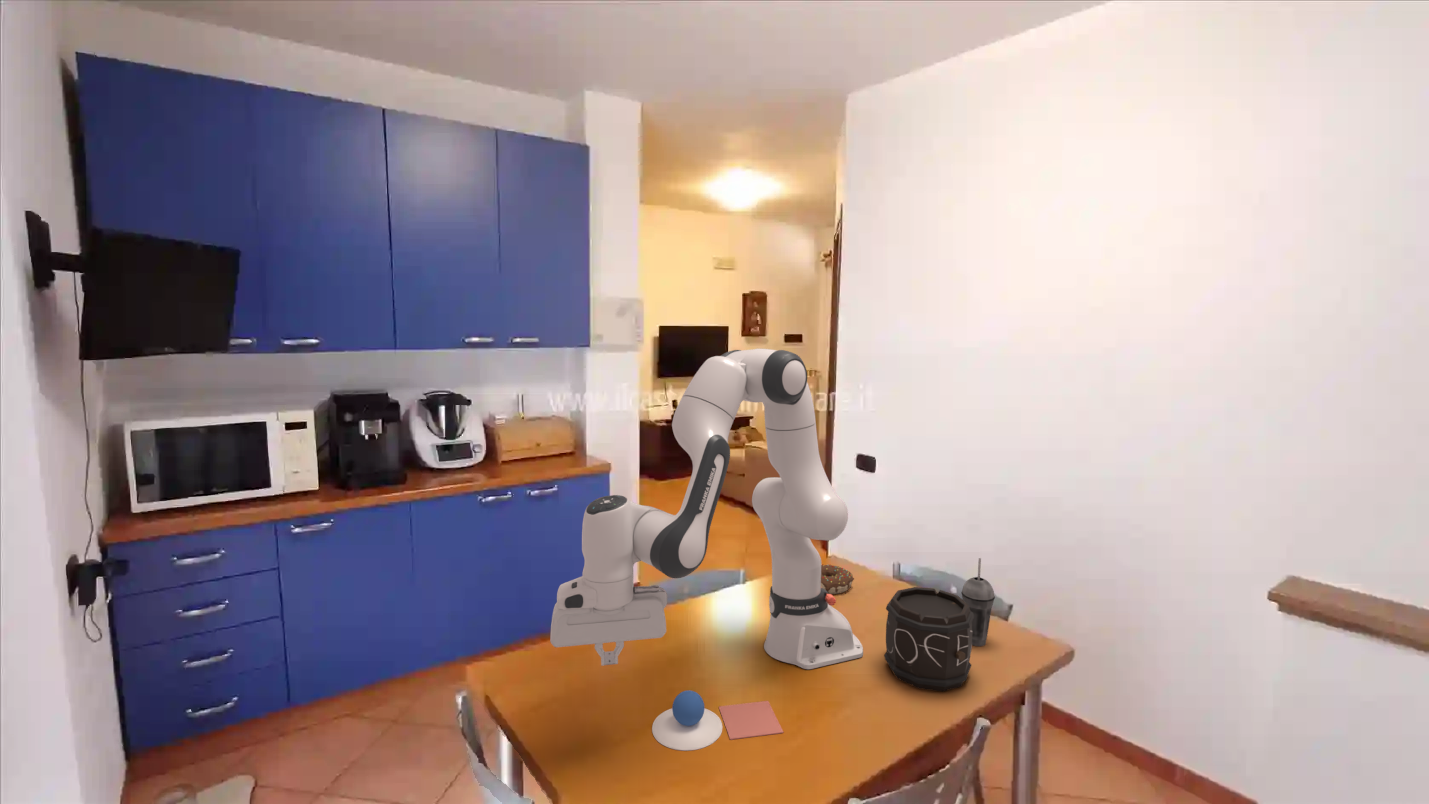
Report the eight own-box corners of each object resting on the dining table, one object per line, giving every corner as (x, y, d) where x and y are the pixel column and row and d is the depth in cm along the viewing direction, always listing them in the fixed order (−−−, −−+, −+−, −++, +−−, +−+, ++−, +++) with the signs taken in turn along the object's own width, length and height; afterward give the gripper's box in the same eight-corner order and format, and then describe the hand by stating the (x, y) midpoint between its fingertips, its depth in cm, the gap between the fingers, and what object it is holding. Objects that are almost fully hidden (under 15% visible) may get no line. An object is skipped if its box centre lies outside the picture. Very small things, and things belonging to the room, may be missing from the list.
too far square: (768, 701, 127) (768, 700, 127) (783, 733, 117) (783, 732, 117) (718, 707, 125) (718, 706, 125) (730, 739, 115) (730, 738, 115)
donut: (843, 601, 174) (844, 583, 173) (796, 590, 181) (797, 573, 180) (859, 583, 186) (860, 566, 186) (815, 573, 193) (815, 557, 192)
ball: (695, 680, 123) (666, 689, 120) (709, 697, 118) (679, 706, 115) (697, 709, 124) (668, 718, 121) (710, 726, 119) (680, 737, 116)
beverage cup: (958, 645, 149) (962, 563, 147) (959, 631, 156) (963, 552, 154) (992, 651, 147) (997, 567, 144) (991, 637, 153) (996, 557, 151)
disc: (714, 703, 126) (714, 702, 126) (729, 745, 113) (729, 744, 113) (648, 710, 124) (648, 710, 124) (656, 755, 111) (656, 753, 111)
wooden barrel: (924, 704, 126) (927, 628, 124) (868, 660, 143) (870, 593, 141) (992, 684, 133) (996, 612, 132) (931, 644, 150) (934, 580, 148)
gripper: (665, 577, 118) (665, 649, 119) (550, 586, 113) (552, 659, 115) (669, 591, 111) (669, 666, 113) (548, 601, 107) (550, 678, 109)
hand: (609, 663), depth 114 cm, fingers closed
